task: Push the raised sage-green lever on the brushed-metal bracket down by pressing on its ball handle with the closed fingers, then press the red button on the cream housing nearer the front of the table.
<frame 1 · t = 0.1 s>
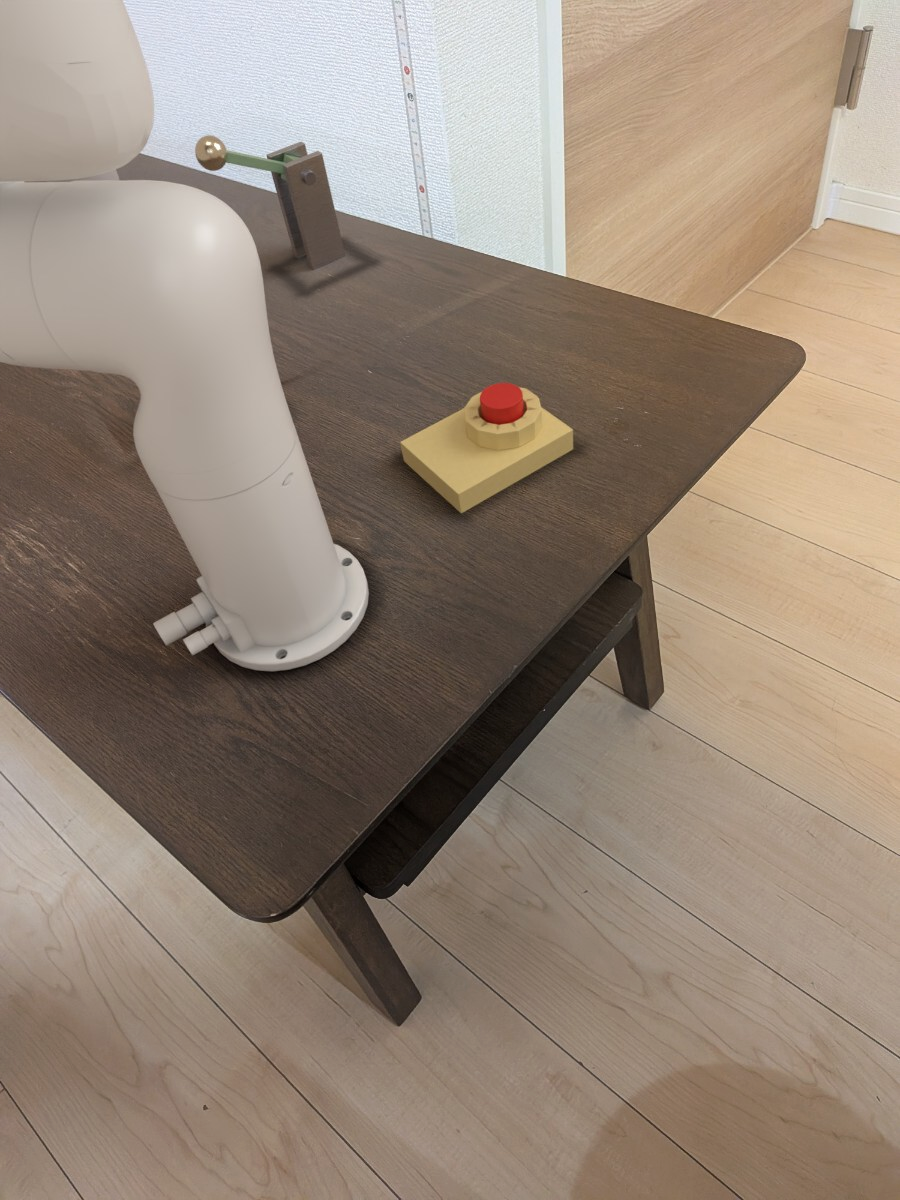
button: (501, 403, 70), point 4 cm above the table, slide at 0.1 cm
button box: (487, 455, 72), on the table
coffee cup: (118, 256, 108), on the table
lever: (255, 162, 87), point 13 cm above the table, hinge at 28.0°
bracket: (322, 265, 99), on the table
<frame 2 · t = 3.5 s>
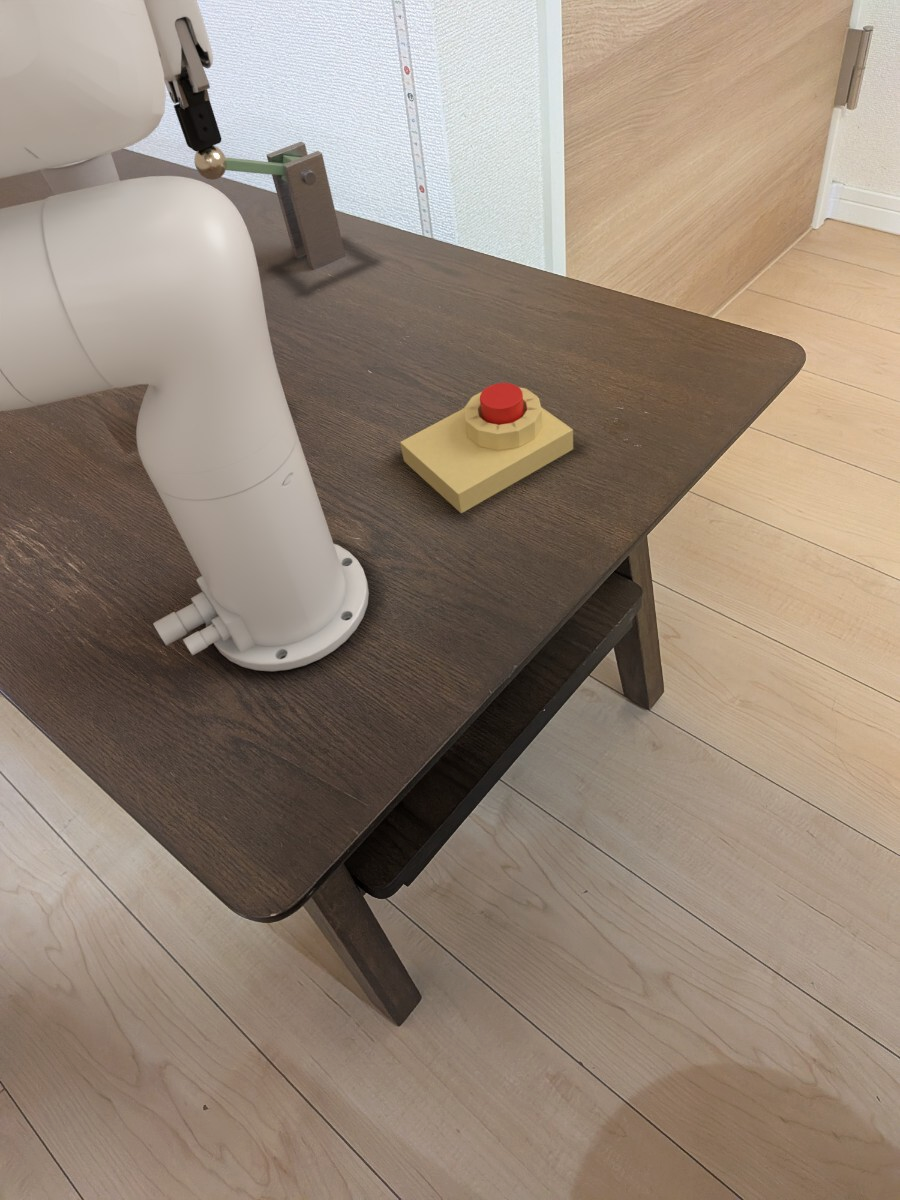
hand: (205, 144, 84), 17 cm above the table, tool pointing down, fingers closed
lever: (254, 166, 88), point 13 cm above the table, hinge at 23.1°, touching gripper
everything else where it was.
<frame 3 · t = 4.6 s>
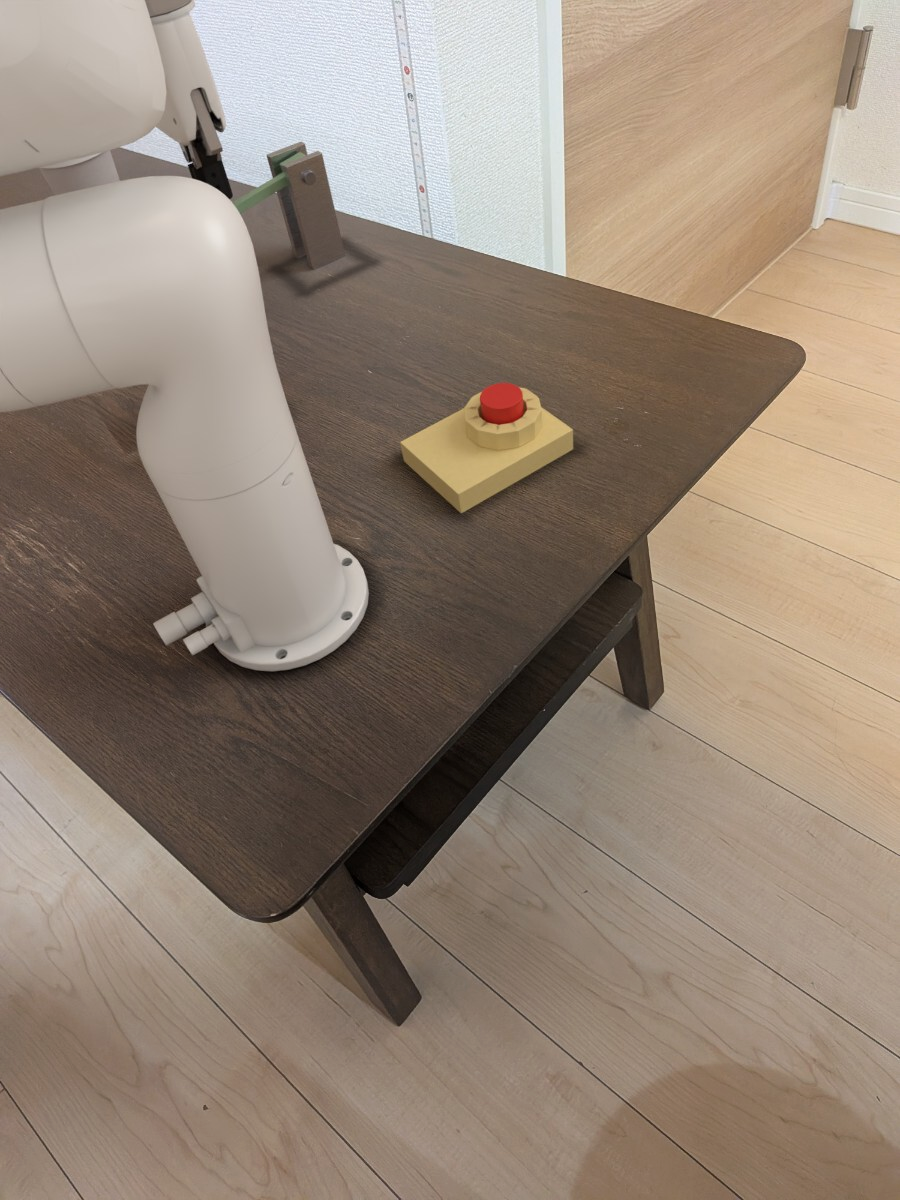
hand: (217, 200, 88), 11 cm above the table, tool pointing down, fingers closed
lever: (259, 194, 90), point 10 cm above the table, hinge at -8.3°, touching gripper
everything else where it was.
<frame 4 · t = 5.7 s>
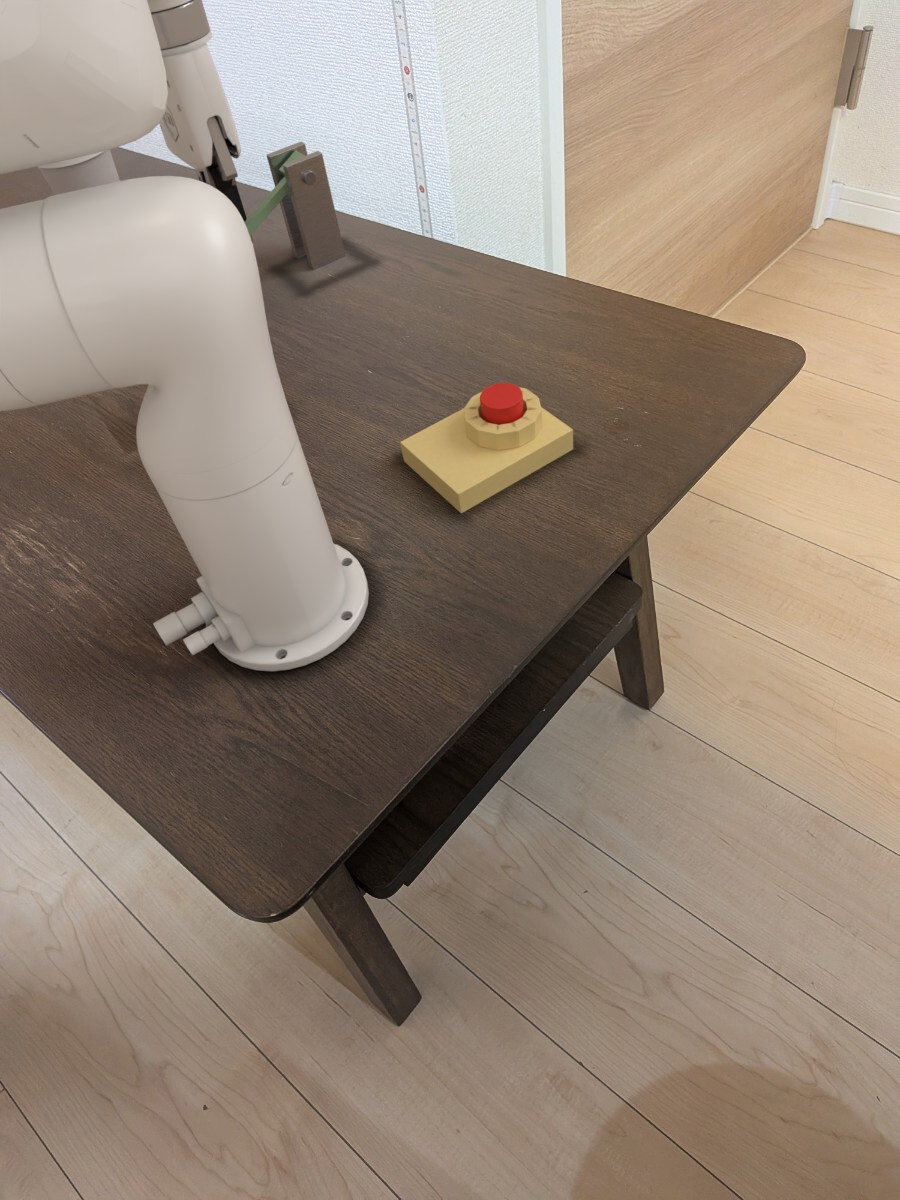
hand: (231, 223, 89), 9 cm above the table, tool pointing down, fingers closed
lever: (267, 206, 91), point 9 cm above the table, hinge at -25.8°
everything else where it was.
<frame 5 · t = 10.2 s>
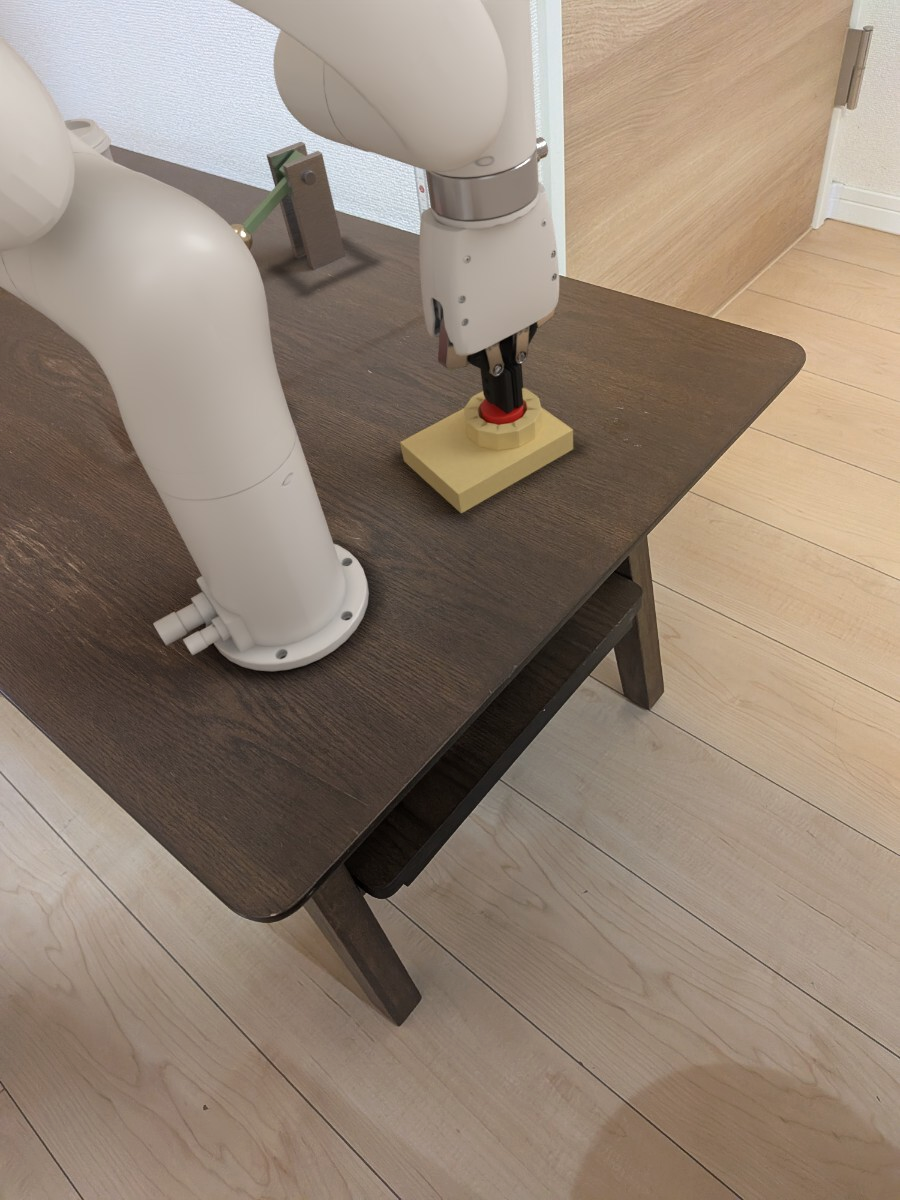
hand: (504, 402, 70), 4 cm above the table, tool pointing down, fingers closed
button: (502, 412, 70), point 4 cm above the table, slide at -0.8 cm, touching gripper
everything else where it was.
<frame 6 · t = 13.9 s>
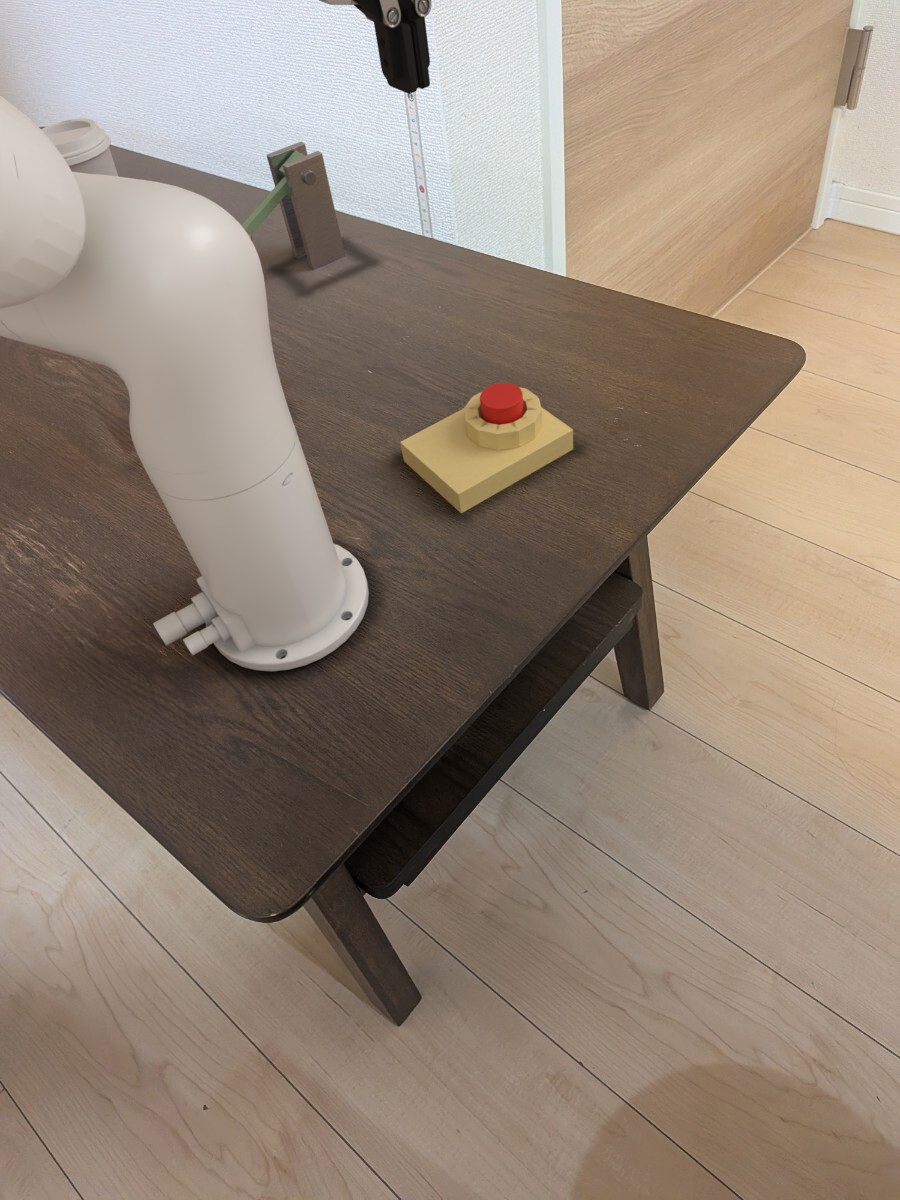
hand: (408, 85, 57), 27 cm above the table, tool pointing down, fingers closed
button: (501, 403, 70), point 4 cm above the table, slide at 0.1 cm
everything else where it was.
at the end: lever at -26° (first picture: +28°); button pushed in 1.1 cm at the most during the clip, back to where it started at the end; button slide at 0.1 cm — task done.
